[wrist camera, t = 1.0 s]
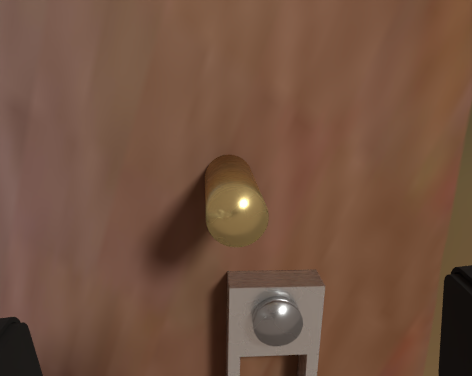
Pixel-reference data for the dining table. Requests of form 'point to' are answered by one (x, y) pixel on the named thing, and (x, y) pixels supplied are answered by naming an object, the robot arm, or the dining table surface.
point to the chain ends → (274, 317)
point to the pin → (233, 202)
